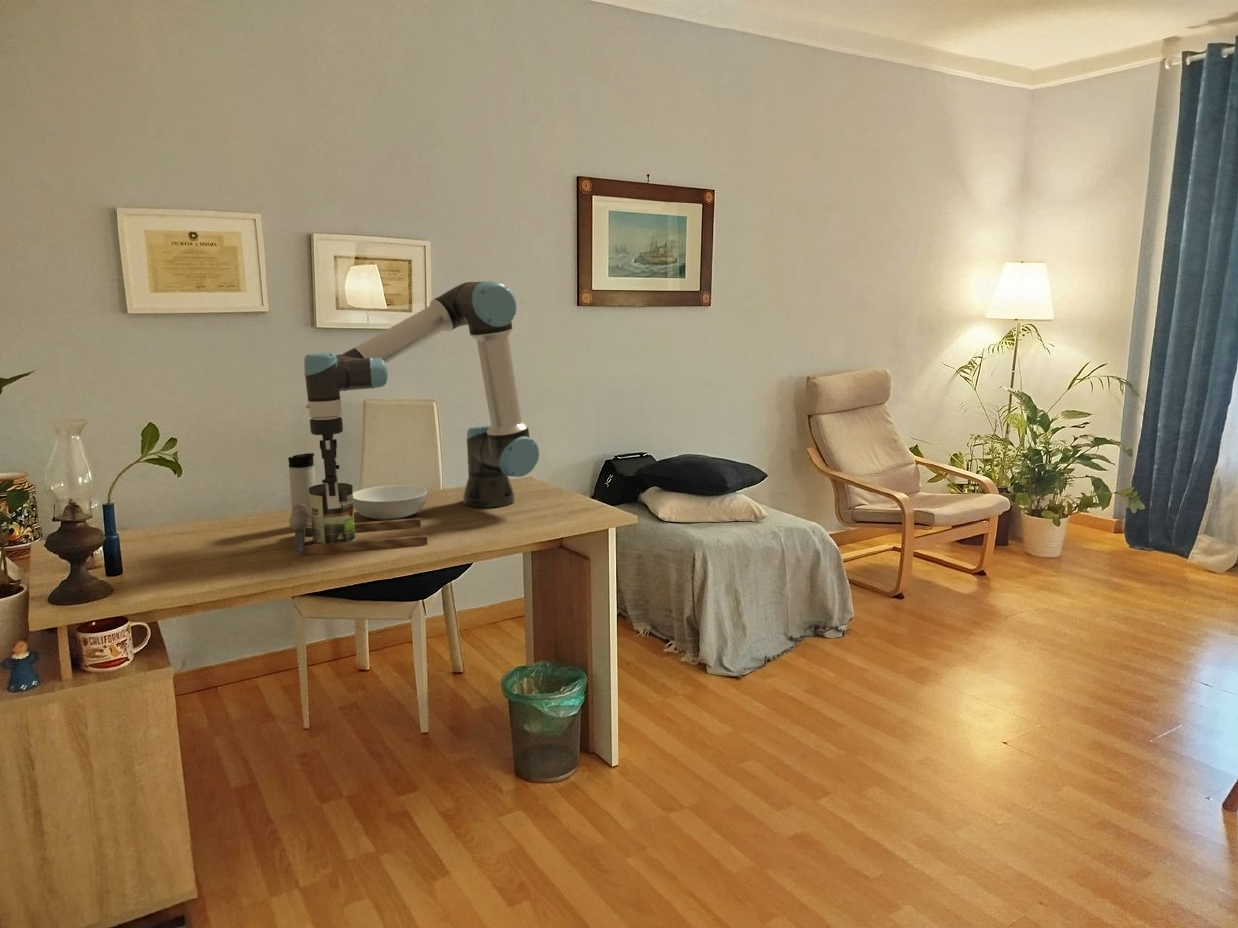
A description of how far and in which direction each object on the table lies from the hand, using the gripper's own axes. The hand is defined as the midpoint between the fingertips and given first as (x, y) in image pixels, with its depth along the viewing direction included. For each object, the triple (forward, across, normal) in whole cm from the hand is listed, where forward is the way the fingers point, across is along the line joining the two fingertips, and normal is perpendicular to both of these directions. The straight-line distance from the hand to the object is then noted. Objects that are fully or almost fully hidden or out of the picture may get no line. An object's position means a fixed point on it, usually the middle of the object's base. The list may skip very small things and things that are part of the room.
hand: (333, 501), depth 212 cm
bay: (+10, 0, +6) cm, 12 cm away
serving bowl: (+11, -22, +14) cm, 28 cm away
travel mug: (+10, -17, -8) cm, 21 cm away
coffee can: (+10, 0, -1) cm, 10 cm away
